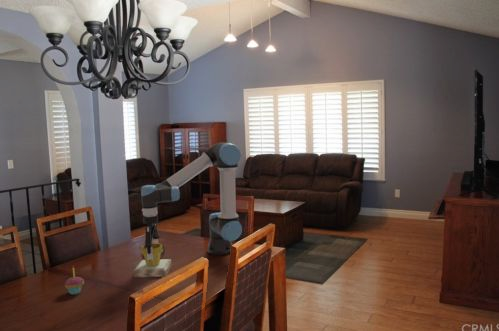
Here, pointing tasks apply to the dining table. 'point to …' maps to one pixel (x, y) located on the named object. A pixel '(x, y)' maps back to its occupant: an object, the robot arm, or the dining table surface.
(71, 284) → the cupcake
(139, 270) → the plinth
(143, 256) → the tin
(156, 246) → the plant pot
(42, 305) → the dining table surface
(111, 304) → the dining table surface
